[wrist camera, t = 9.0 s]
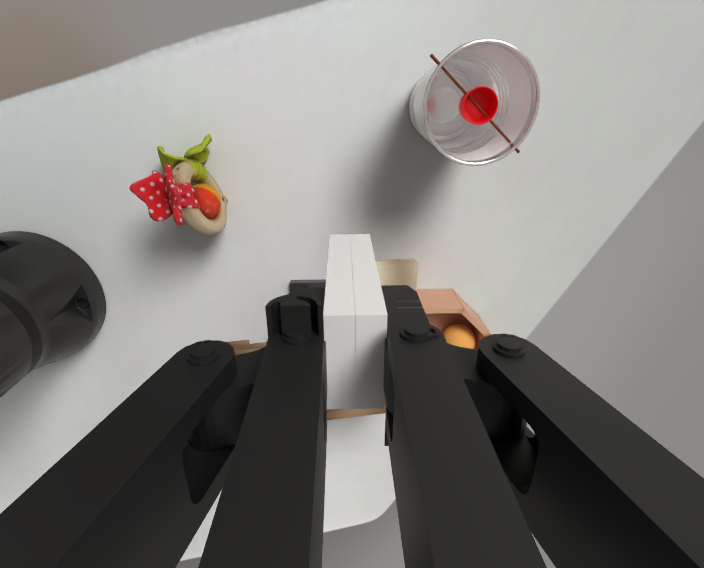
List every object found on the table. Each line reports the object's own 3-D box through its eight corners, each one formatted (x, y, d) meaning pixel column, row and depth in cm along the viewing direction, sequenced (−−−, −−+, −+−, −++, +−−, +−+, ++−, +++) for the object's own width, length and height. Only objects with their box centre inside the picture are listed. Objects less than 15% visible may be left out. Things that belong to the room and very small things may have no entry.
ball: (454, 326, 52) (429, 334, 50) (473, 315, 49) (446, 323, 47) (468, 356, 51) (442, 366, 49) (488, 347, 47) (461, 357, 46)
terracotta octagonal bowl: (364, 331, 51) (366, 354, 46) (434, 270, 48) (444, 287, 43) (425, 384, 54) (432, 410, 50) (494, 329, 51) (509, 351, 47)
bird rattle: (250, 182, 46) (196, 109, 39) (253, 247, 38) (186, 168, 32) (202, 207, 47) (142, 140, 40) (196, 275, 39) (119, 205, 33)
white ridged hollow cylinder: (509, 107, 41) (570, 108, 30) (446, 172, 44) (482, 195, 33) (440, 29, 38) (480, -2, 27) (377, 103, 41) (391, 103, 30)
